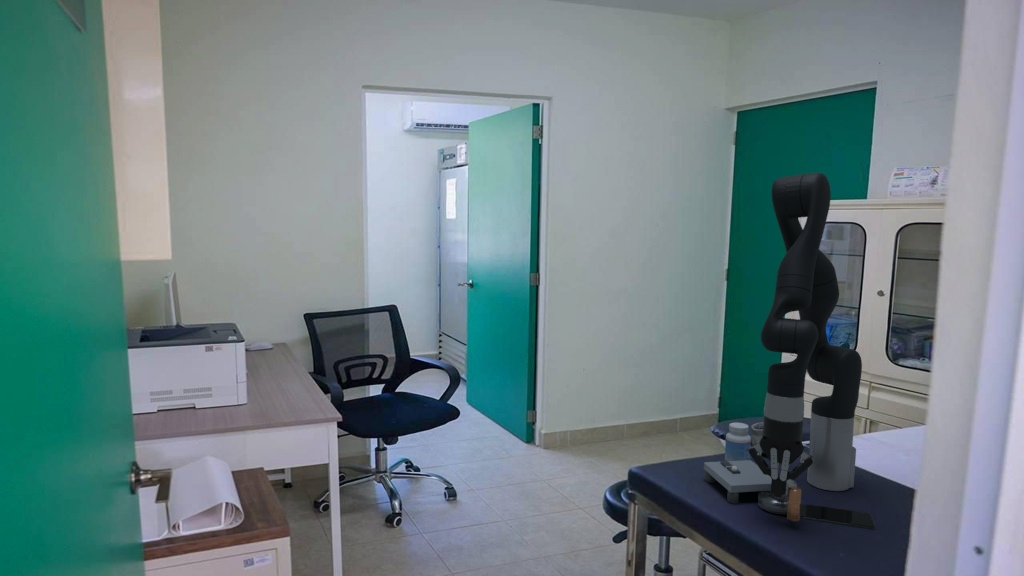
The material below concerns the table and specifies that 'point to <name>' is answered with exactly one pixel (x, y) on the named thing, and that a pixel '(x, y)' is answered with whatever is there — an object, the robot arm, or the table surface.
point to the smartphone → (837, 516)
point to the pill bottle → (737, 443)
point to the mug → (757, 433)
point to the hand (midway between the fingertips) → (777, 495)
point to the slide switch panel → (737, 477)
